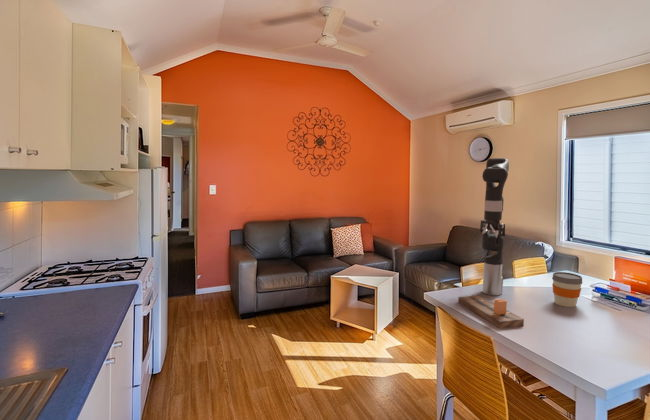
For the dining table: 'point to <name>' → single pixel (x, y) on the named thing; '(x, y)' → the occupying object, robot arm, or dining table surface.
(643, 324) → the dining table surface
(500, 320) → the brown wooden board
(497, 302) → the fader tab
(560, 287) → the reusable coffee cup
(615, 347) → the dining table surface
